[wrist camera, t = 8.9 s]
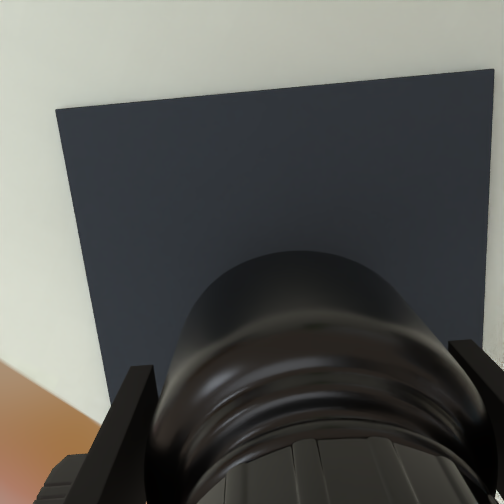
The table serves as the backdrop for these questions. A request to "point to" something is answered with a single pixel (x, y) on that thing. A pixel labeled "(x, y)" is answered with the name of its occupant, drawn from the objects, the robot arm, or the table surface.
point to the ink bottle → (315, 396)
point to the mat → (280, 198)
